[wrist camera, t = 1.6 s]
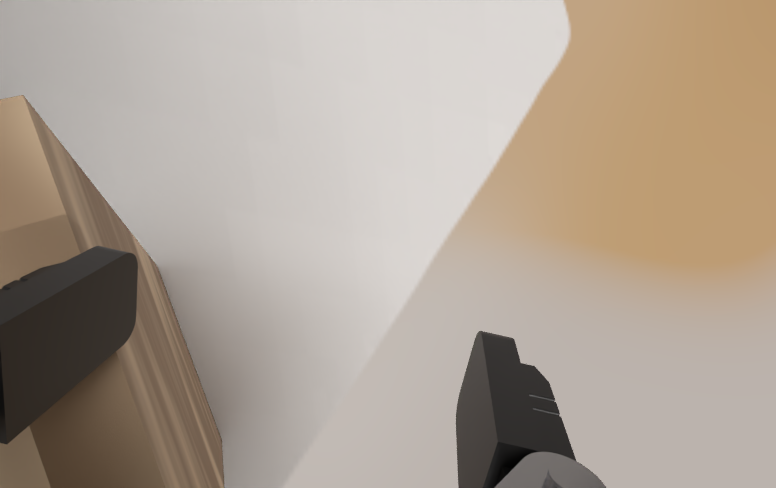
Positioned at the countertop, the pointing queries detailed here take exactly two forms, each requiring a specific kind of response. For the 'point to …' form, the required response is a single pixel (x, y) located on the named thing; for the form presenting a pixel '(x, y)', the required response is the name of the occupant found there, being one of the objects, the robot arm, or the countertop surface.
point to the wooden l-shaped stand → (123, 368)
